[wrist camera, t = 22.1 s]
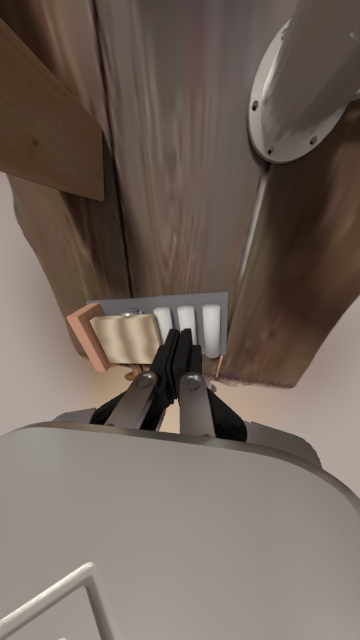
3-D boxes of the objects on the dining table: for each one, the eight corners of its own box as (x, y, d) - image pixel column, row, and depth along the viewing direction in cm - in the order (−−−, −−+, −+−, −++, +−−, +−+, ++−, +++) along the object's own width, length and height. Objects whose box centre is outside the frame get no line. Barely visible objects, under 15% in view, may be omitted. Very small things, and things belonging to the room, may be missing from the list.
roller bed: (227, 291, 34) (234, 306, 26) (225, 352, 43) (230, 377, 35) (87, 301, 41) (61, 315, 33) (111, 352, 50) (94, 372, 42)
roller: (138, 306, 39) (133, 313, 35) (149, 347, 46) (146, 356, 42) (124, 308, 39) (117, 315, 36) (137, 348, 46) (133, 357, 42)
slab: (154, 314, 34) (152, 318, 32) (164, 358, 40) (163, 364, 39) (94, 316, 37) (89, 320, 35) (113, 357, 43) (109, 362, 42)
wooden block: (105, 202, 29) (-40, 151, 12) (57, 190, 29) (-156, 121, 12) (103, 126, 24) (-164, -167, 7) (44, 111, 24) (-367, -213, 7)
